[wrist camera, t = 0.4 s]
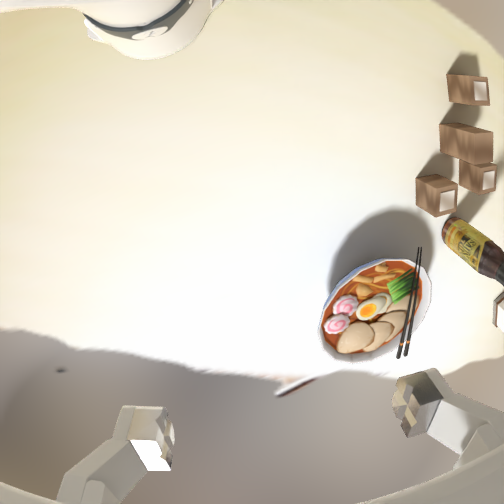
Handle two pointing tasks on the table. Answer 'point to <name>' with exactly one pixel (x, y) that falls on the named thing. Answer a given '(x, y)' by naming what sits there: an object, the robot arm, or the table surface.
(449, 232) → the sauce bottle
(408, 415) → the robot arm
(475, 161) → the plain block
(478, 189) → the white-paneled wooden block
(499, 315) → the spiral tower model
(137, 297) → the table surface
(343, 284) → the ramen bowl
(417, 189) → the white paneled block
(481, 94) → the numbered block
